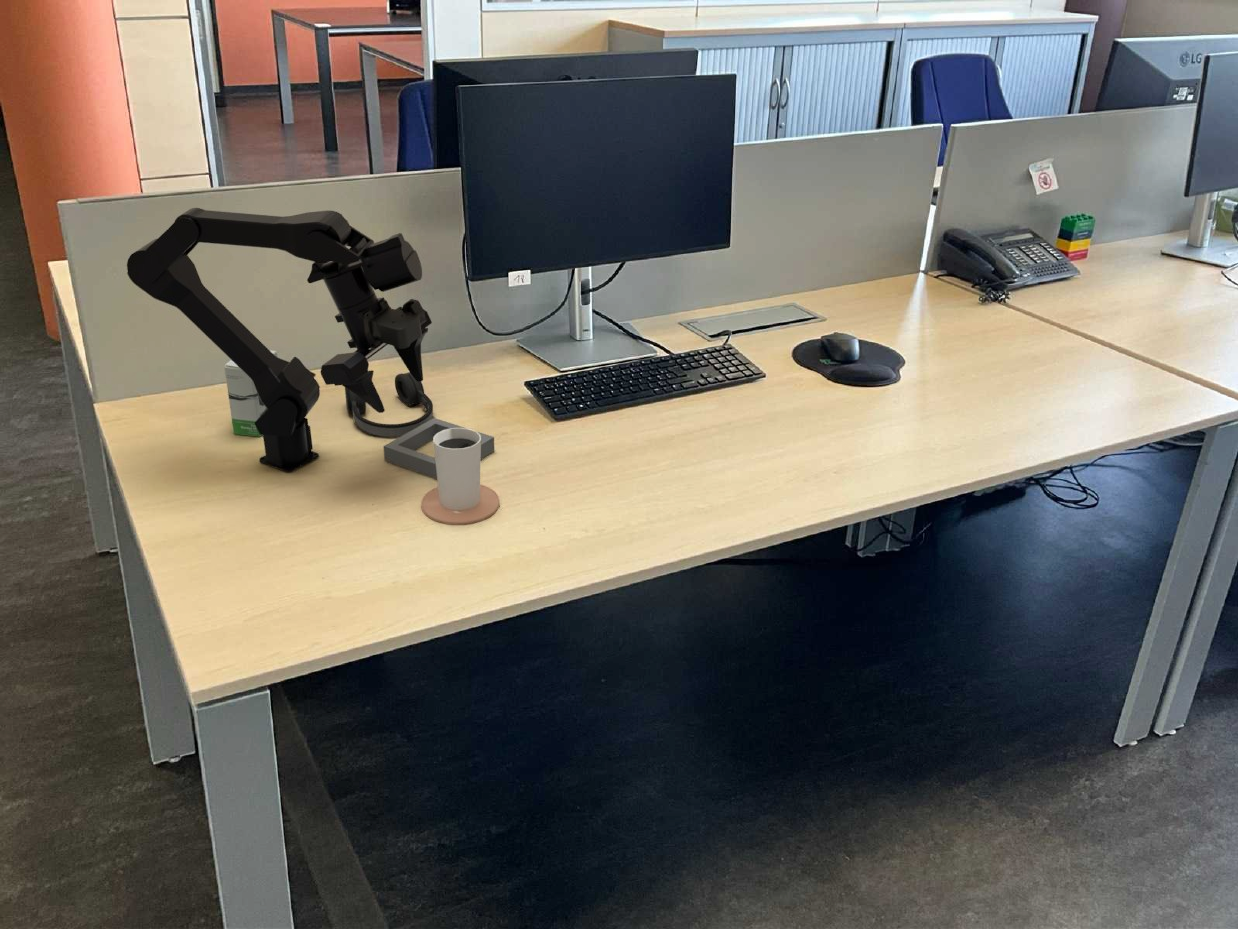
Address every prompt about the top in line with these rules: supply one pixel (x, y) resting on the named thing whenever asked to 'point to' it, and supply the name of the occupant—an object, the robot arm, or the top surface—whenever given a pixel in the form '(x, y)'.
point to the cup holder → (405, 445)
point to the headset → (408, 395)
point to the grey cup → (458, 467)
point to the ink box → (243, 400)
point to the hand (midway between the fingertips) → (401, 396)
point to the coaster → (473, 515)
